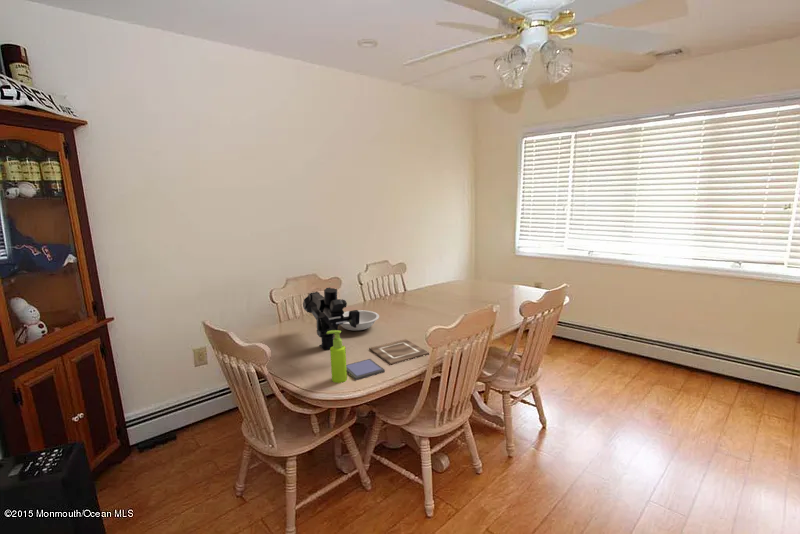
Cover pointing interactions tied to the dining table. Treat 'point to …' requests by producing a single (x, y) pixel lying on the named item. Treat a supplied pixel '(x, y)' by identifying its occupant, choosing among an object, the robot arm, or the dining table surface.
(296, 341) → the dining table surface
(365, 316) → the soup bowl
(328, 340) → the robot arm
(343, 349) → the soap dispenser
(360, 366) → the ink pad
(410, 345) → the board
